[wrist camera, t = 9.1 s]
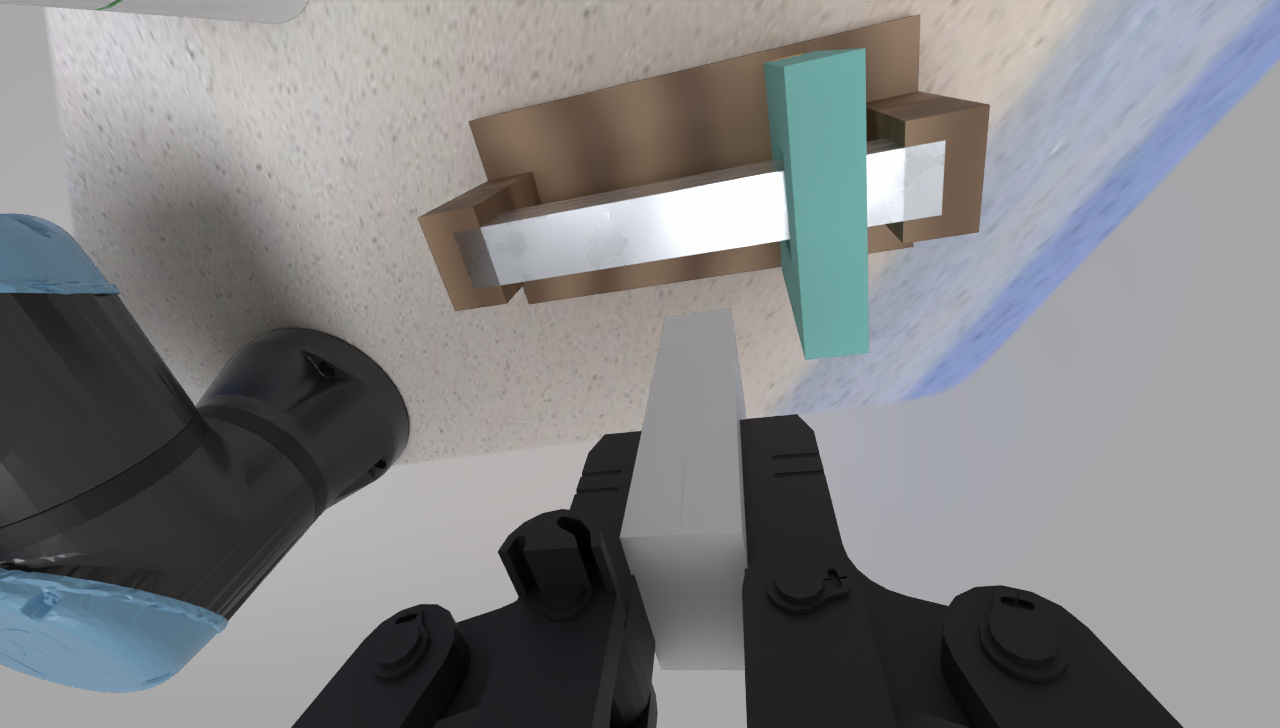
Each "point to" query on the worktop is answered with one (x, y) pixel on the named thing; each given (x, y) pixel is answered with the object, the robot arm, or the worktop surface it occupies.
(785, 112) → the teal square ring
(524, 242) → the grey square bar
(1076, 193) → the worktop surface
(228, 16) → the cylindrical container
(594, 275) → the stand
